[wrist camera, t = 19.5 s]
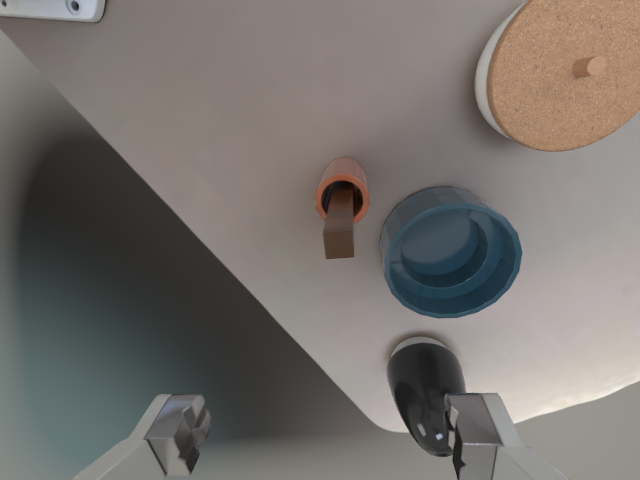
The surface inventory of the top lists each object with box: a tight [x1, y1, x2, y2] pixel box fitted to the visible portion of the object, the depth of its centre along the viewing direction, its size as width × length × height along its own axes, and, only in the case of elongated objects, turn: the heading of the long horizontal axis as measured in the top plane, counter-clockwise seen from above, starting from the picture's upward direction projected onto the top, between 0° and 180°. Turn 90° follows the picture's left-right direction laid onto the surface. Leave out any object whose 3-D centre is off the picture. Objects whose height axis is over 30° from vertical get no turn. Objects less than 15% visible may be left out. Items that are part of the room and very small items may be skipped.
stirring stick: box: [323, 180, 354, 259], centre depth 30 cm, size 2×2×18 cm
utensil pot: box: [315, 157, 369, 223], centre depth 35 cm, size 5×5×9 cm
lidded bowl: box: [475, 0, 640, 152], centre depth 27 cm, size 13×13×11 cm
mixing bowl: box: [380, 186, 522, 318], centre depth 38 cm, size 14×14×7 cm
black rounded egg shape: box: [387, 337, 466, 457], centre depth 42 cm, size 10×10×15 cm
